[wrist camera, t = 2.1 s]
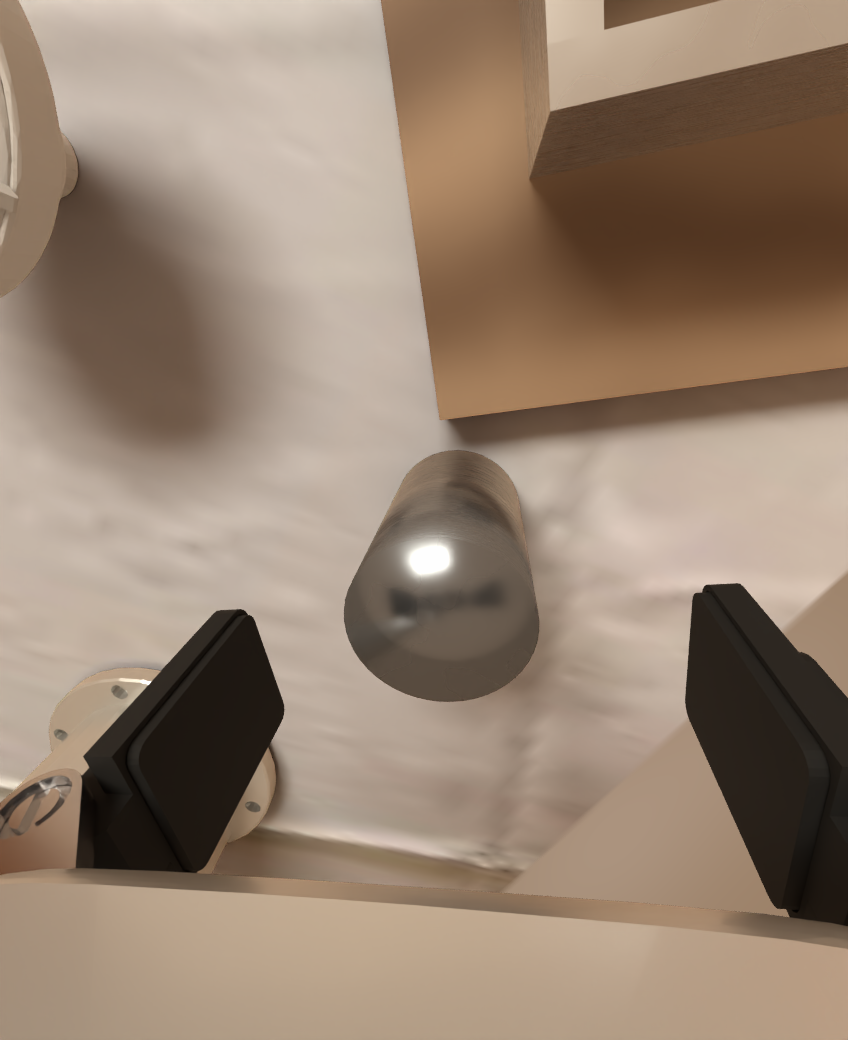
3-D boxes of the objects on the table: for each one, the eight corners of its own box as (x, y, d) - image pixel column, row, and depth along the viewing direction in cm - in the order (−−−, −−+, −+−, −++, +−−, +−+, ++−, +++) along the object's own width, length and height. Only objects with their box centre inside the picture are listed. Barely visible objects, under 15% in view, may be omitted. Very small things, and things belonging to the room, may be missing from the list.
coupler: (523, 559, 20) (544, 698, 13) (406, 568, 21) (364, 704, 14) (514, 443, 18) (532, 527, 11) (386, 458, 19) (324, 546, 12)
